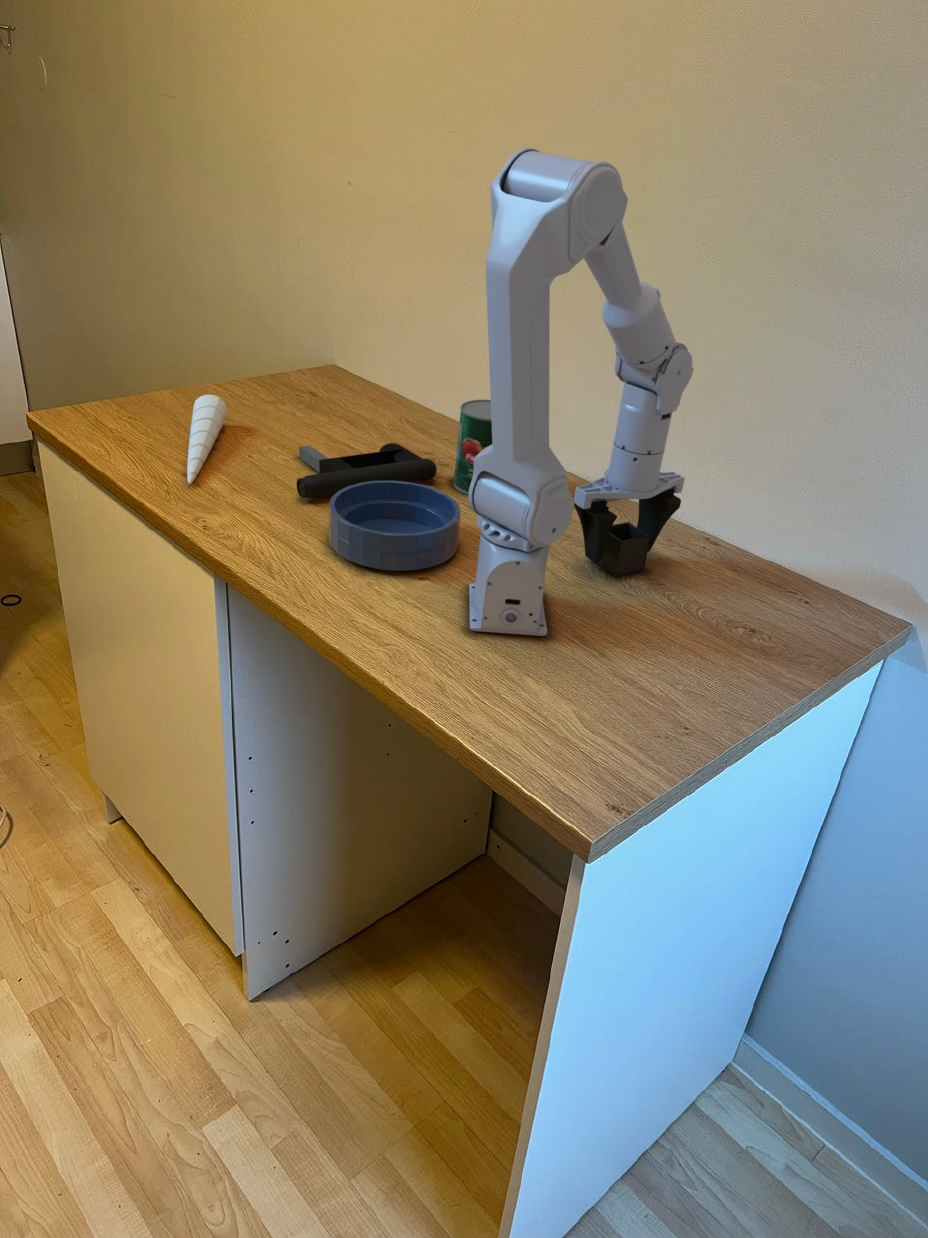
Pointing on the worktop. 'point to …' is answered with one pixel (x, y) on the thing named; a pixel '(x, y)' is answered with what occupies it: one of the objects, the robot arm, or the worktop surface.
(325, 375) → the worktop surface
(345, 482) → the door handle
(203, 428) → the unicorn horn
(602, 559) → the scoop
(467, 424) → the canned tomato
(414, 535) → the bowl
